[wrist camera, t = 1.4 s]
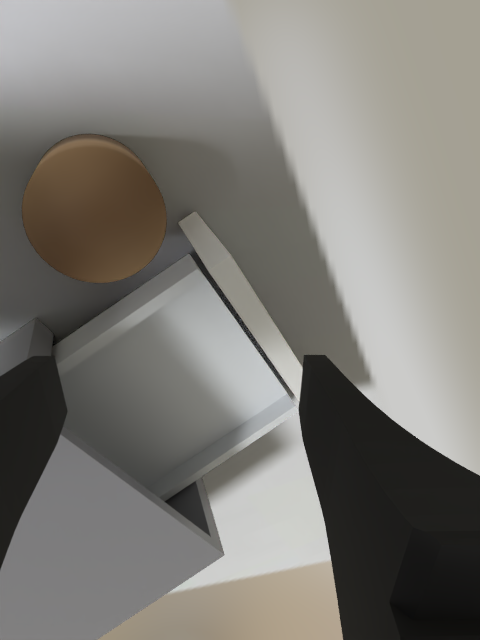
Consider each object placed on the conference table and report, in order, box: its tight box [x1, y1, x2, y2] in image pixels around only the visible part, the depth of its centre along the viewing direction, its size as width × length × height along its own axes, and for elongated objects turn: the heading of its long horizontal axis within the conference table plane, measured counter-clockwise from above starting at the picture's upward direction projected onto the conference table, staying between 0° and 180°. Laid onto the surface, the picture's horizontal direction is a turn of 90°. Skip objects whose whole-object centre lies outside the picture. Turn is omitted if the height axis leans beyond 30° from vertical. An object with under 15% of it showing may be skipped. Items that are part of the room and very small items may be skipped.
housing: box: [0, 318, 224, 640], centre depth 22 cm, size 15×14×6 cm
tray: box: [51, 211, 303, 502], centre depth 22 cm, size 15×14×6 cm
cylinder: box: [22, 134, 167, 283], centre depth 17 cm, size 5×5×4 cm
